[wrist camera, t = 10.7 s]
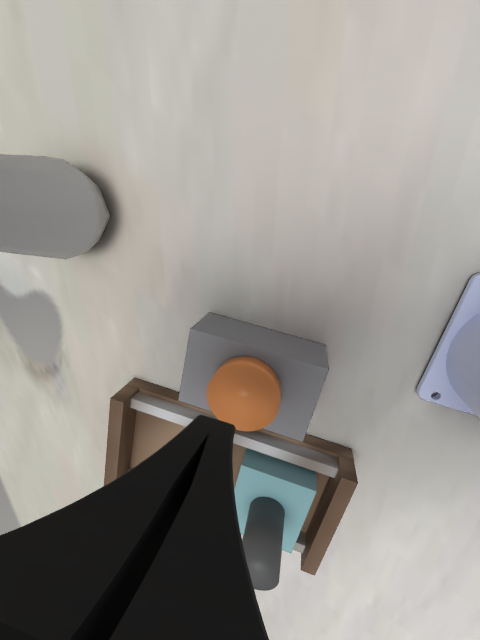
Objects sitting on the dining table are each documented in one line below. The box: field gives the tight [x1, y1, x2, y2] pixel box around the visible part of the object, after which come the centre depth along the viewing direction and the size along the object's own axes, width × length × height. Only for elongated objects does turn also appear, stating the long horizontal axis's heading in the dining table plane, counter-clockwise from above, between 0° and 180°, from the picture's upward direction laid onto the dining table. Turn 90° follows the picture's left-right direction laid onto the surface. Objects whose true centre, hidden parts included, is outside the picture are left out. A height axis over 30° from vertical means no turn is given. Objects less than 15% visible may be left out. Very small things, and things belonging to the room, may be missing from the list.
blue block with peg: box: [234, 448, 317, 590], centre depth 19 cm, size 5×6×6 cm
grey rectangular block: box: [178, 312, 329, 442], centre depth 19 cm, size 8×5×4 cm, turn 78°
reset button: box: [207, 356, 281, 431], centre depth 18 cm, size 4×4×4 cm
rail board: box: [104, 378, 358, 575], centre depth 22 cm, size 17×9×3 cm, turn 78°
